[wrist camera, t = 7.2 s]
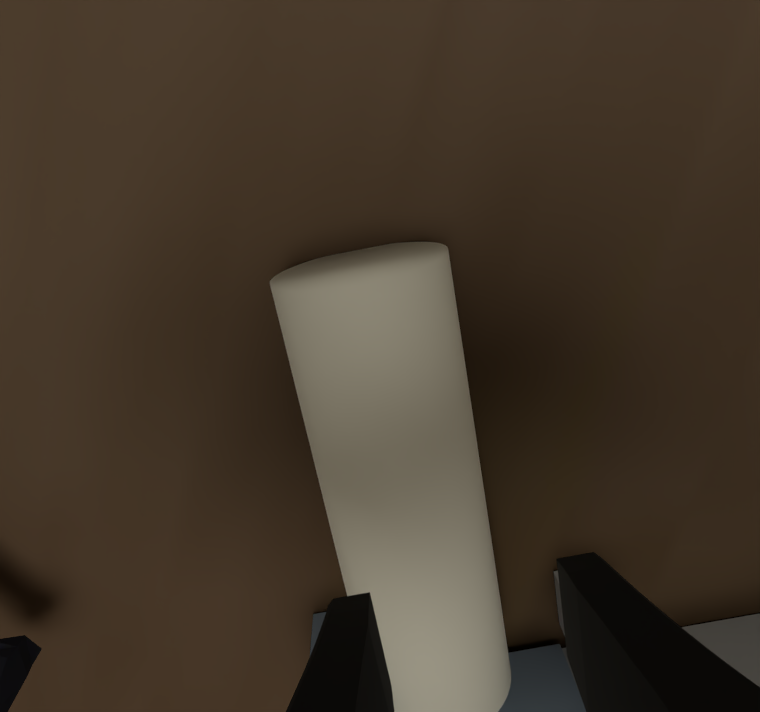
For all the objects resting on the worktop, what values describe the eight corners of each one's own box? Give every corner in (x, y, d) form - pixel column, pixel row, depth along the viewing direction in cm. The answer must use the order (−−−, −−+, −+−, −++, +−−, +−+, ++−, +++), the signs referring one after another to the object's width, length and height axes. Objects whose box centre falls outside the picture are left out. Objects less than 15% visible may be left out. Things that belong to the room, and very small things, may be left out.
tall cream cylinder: (319, 251, 17) (233, 297, 13) (467, 234, 15) (415, 280, 12) (398, 615, 21) (348, 723, 17) (522, 632, 19) (494, 754, 15)
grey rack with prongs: (844, 519, 19) (1007, 646, 14) (836, 624, 20) (983, 772, 16) (306, 615, 19) (291, 770, 15) (333, 712, 21) (327, 883, 16)
